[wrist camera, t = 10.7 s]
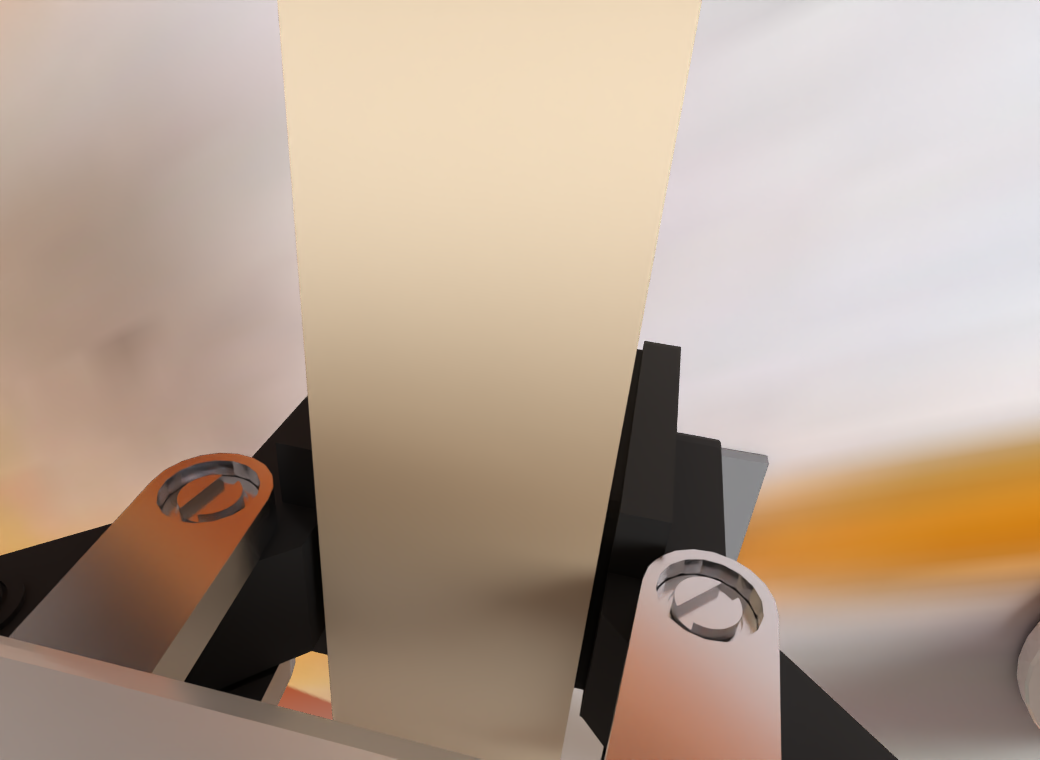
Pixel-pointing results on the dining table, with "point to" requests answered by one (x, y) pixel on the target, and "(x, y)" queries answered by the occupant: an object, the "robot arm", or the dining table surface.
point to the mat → (740, 494)
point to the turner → (472, 338)
